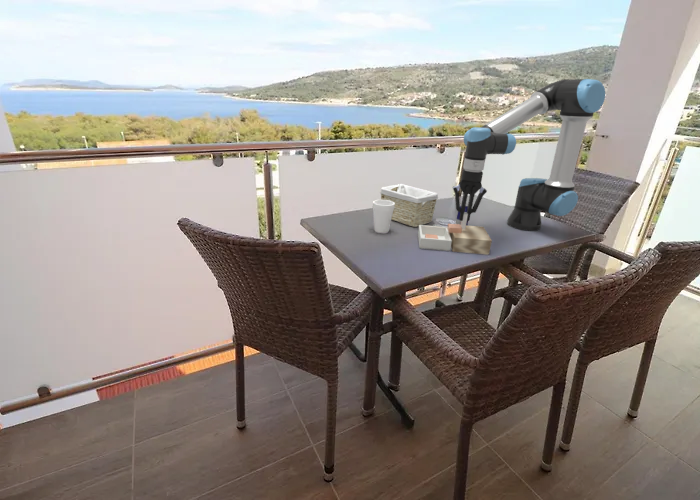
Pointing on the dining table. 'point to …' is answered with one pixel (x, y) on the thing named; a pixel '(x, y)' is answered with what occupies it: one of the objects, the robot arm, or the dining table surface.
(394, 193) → the storage basket
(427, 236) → the tile
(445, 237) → the box
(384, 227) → the foam cup
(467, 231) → the tan wooden block
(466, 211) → the energy drink
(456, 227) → the tile
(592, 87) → the robot arm
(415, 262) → the dining table surface
